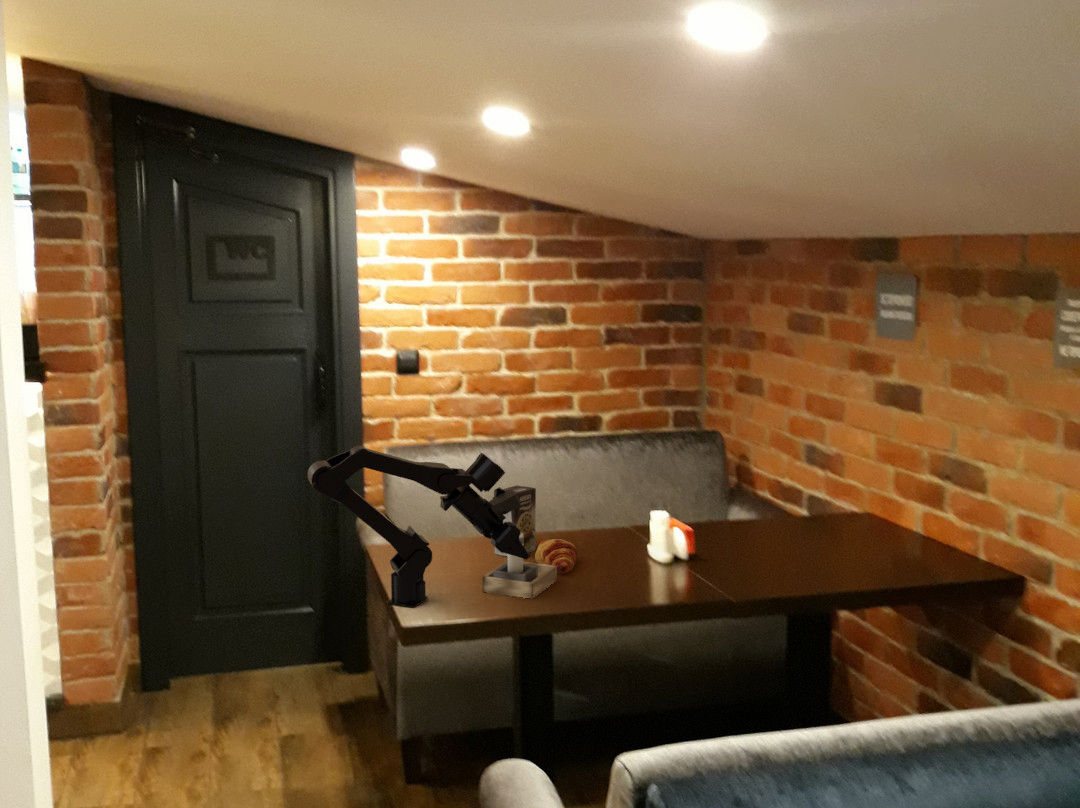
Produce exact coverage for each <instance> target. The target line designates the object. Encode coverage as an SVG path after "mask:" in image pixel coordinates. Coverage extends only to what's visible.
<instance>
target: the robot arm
mask: <svg viewBox="0 0 1080 808" xmlns="http://www.w3.org/2000/svg"><path fill="white" fill-rule="evenodd" d="M363 468H364V469H368V470H372V471H375V472H379V473H383V474H387V475H391V476H395V477H399V478H402V479H406V480H410V481H414V482H415V483H418V484H420V485H421V486H422V487H425V488H426V489H429V490H431V491H434V492H435V493H437V494H440V495H441V496H440V497H439V499H440V505H439V506H440V508H441V509H442V510H443V511H445V512H446V511H448V510H449V509H450V508H451V507H453V509H455V510H456V511H457V512H458V513H459V514H460V515H462V517H464V519H466V520H467V521H468V523H470V524H471V525H472V527H473V528H474V529H475V530H476V531H477V532H478V533H480V534H481V535H483V537H485V538H487V539H490V544H491V545H492V546H494V548H495V547H496V548H497V549H498V550H499V551H500V552H501V553H507V554H510V555H513V556H517V557H520V558H523V560H528V559H529V558H530V553H528V552H527V551H526V549H525V548H524V546H523V545H522V543H521V542H520V540H519V536H520V534H521V531H520V530H519V529H518V528H517V527H516V526H515V525H514V524H513V523H511V522H504V523H503V520H504V519H505V518H506V517H505V516H504V514H507V513H509V512H510V511H512V510H514V509H518V508H519V507H521V503H520V501H519V499H518V497H517V495H516V493H515V492H514V491H512V490H508V489H507V491H506V492H505V491H504V490H503V489H504V488H501V487H498V488H496V489H494V490H493V497H492V499H490V500H487V499H486V498H483V497H482V496H481V495H480V494H479V493H478V492H477V491H476V490H478V491H479V492H480V493H482V492H483V491H484V492H485V493H486V492H488V493H489V491H490V490H491V489H492V488H493V487H494V486H495V485H496V484H497V482H499V481H500V479H502V477H503V476H504V475H506V472H505V470H504V469H502V467H500V465H498V464H497V463H496V462H494V461H493V460H491V459H490V458H489V457H488V456H487V455H486V454H485V453H483V452H481V453H479V454H478V456H477V457H476V459H475V460H474V462H473V463H472V464H471V465H470V466H469V467H468V468H467V469H466V470H464V469H463V468H454V467H450V466H448V465H447V464H445V463H442V462H433V461H432V462H431V461H413V460H409V459H405V458H403V457H399V456H396V455H391V454H388V453H384V452H380V451H377V450H373V449H369V448H366V447H365V446H362V445H356V446H354V447H352V448H350V449H348V450H347V451H345V452H341V453H339V454H336V455H334V456H331V457H329V458H328V459H326V460H324V459H323V460H317V461H315V462H313V463H312V464H311V465H310V466H309V468H308V470H307V479H308V482H309V483H310V485H311V486H312V487H313V489H314V490H315V491H316V492H318V493H319V494H321V495H323V496H324V497H327V498H328V499H329V500H332V501H334V502H337V503H338V504H341V505H342V506H344V507H345V508H346V509H348V511H350V512H351V513H353V514H354V515H355V516H356V518H359V519H360V520H361V521H362V522H363V523H364V524H366V525H367V526H368V527H370V528H371V530H373V531H374V532H375V533H376V534H378V535H379V536H380V537H381V538H383V539H384V540H385V541H386V542H388V544H390V545H391V546H392V547H393V549H394V550H395V551H396V553H395V554H394V555H393V557H392V558H391V559H389V564H390V566H391V568H392V570H393V571H394V572H392V573H391V574H390V584H391V585H390V592H391V596H390V597H391V598H390V599H389V600H387V604H388V605H394V606H401V607H407V608H415V607H417V606H418V605H420V604H421V603H423V602H425V601H426V600H427V599H428V595H427V594H426V593H427V592H426V580H424V575H425V571H426V569H427V568H428V567H429V566H430V565H431V563H432V560H433V551H432V550H431V548H430V547H429V545H430V543H429V542H428V540H427V539H426V538H425V537H424V536H423V535H421V534H418V533H417V532H416V531H415V530H414V529H413V527H412V526H410V525H409V526H408V527H407V528H406V530H405V529H403V528H401V527H399V526H398V525H396V524H395V523H394V522H392V520H390V519H389V518H388V517H387V516H385V515H384V513H382V512H381V511H380V510H379V509H378V508H376V507H374V505H373V504H371V503H369V501H368V500H366V499H365V498H364V497H363V496H362V495H360V494H359V493H358V492H357V491H355V490H354V489H353V488H352V487H351V486H350V485H349V483H348V482H347V481H346V480H348V479H350V478H351V477H352V476H353V475H355V474H356V473H357V472H358V471H360V470H362V469H363ZM470 485H472V486H473V487H474V488H476V490H475V489H474V488H472V487H471V486H470ZM426 595H427V596H426Z"/></svg>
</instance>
